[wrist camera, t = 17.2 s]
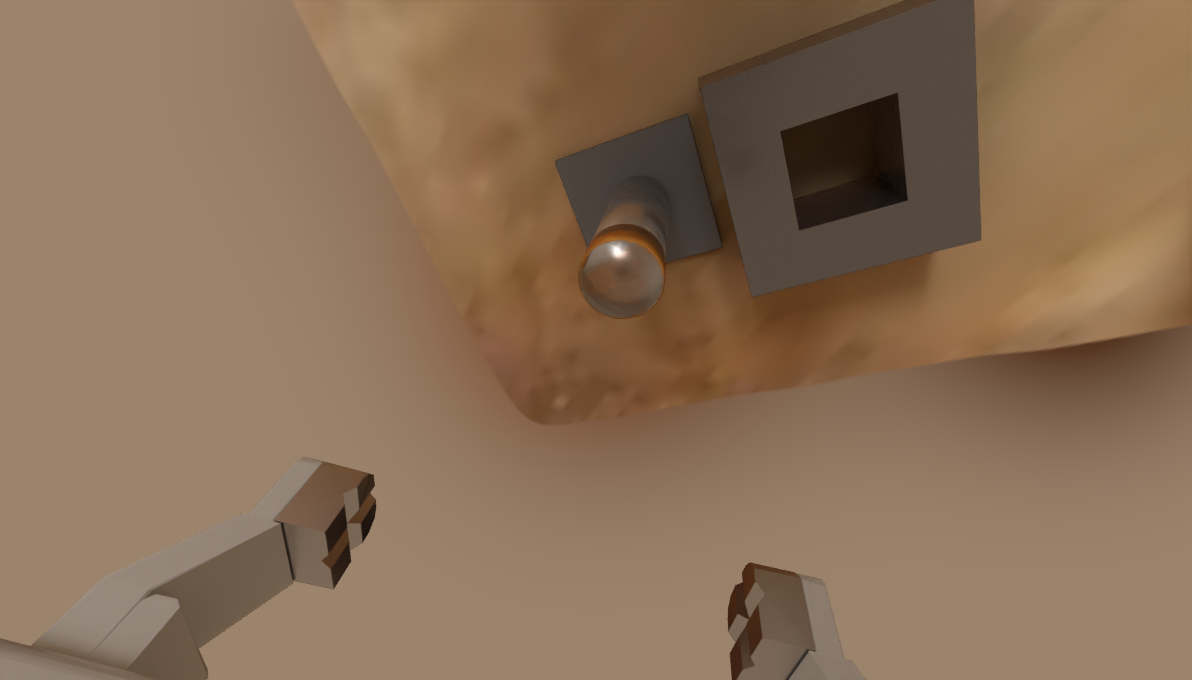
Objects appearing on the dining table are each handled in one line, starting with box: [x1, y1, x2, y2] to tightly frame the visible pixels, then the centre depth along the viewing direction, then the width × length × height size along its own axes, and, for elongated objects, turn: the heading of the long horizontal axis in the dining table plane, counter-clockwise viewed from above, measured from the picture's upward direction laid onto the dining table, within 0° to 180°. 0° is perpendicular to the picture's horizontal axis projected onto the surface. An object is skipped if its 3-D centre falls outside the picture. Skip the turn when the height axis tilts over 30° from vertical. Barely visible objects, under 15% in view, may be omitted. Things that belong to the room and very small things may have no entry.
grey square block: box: [698, 0, 981, 297], centre depth 27 cm, size 11×11×5 cm
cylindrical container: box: [578, 175, 670, 319], centre depth 28 cm, size 4×4×11 cm
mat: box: [555, 114, 722, 263], centre depth 32 cm, size 8×8×1 cm
